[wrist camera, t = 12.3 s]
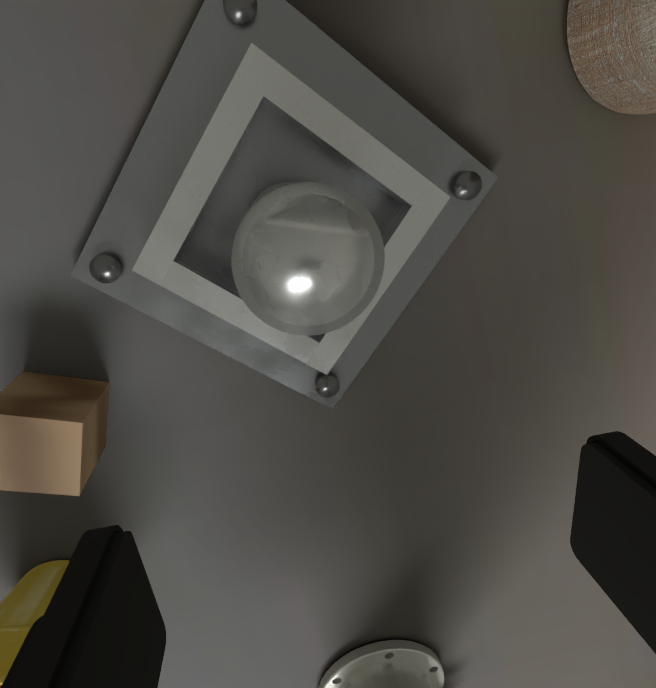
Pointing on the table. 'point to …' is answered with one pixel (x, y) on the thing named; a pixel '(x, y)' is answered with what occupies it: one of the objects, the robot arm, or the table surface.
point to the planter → (614, 52)
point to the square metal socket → (266, 170)
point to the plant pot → (26, 608)
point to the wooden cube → (51, 432)
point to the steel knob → (307, 257)
